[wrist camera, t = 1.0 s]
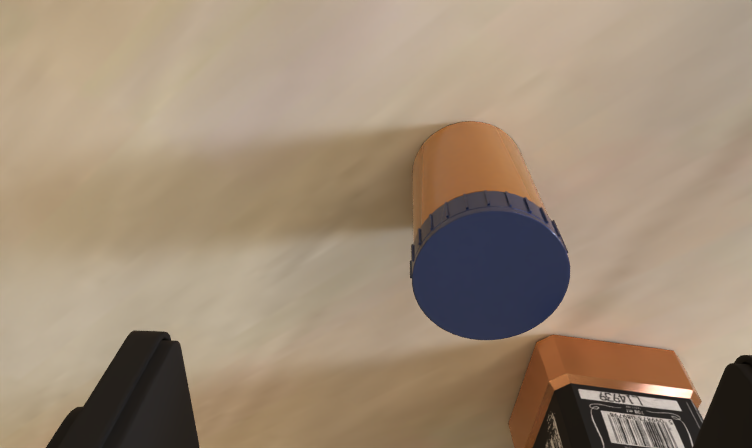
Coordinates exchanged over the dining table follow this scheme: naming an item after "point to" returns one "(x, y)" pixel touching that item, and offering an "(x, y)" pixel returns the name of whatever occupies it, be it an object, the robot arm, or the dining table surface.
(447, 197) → the honey jar
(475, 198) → the jar lid
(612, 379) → the whiskey bottle
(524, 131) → the dining table surface
